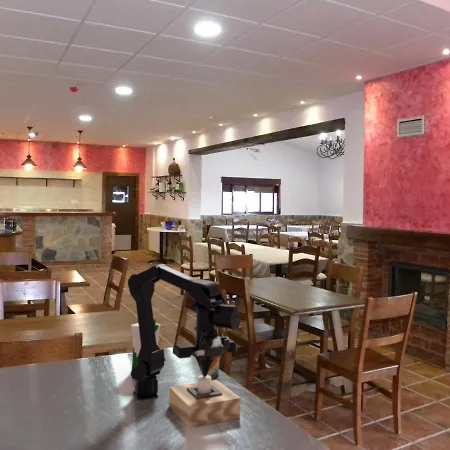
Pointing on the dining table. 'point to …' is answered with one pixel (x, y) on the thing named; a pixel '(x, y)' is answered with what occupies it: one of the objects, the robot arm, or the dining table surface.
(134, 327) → the milk carton
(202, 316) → the robot arm
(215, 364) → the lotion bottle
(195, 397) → the socket block
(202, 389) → the dowel
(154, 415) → the dining table surface
